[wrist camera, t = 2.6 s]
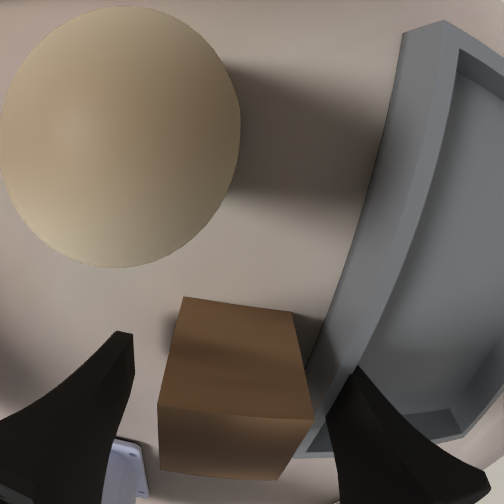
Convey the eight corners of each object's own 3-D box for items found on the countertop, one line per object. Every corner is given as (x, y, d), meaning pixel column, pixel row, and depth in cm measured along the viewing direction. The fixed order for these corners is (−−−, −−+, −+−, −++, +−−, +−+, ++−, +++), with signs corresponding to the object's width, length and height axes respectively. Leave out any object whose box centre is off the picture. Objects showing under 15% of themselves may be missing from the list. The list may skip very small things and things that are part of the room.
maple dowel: (228, 193, 10) (215, 287, 5) (107, 176, 10) (4, 247, 5) (252, 66, 8) (265, 17, 3) (122, 54, 8) (14, 20, 3)
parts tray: (448, 409, 16) (463, 437, 14) (283, 417, 15) (288, 458, 13) (571, 145, 9) (606, 158, 7) (402, 33, 8) (444, 19, 5)
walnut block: (267, 382, 14) (276, 480, 9) (177, 370, 13) (160, 469, 9) (291, 311, 12) (315, 420, 7) (183, 295, 12) (157, 404, 7)
